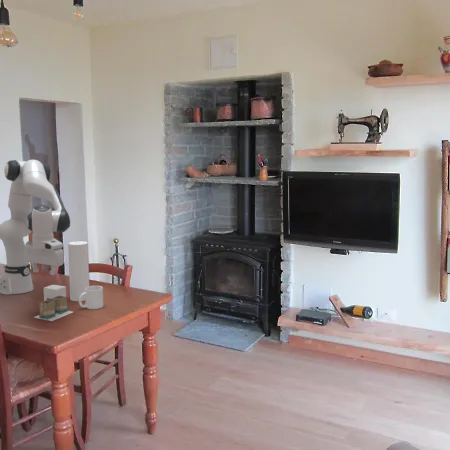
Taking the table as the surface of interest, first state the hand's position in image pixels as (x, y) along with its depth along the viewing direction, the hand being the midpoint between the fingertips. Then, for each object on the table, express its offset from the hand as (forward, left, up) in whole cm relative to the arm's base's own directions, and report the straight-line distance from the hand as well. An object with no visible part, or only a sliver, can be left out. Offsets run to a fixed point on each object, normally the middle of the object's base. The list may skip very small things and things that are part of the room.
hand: (44, 273), depth 230 cm
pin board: (+1, +4, -21) cm, 21 cm away
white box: (-11, +18, -21) cm, 30 cm away
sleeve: (+1, 0, -20) cm, 20 cm away
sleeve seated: (+1, +8, -20) cm, 21 cm away
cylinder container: (-5, +29, -21) cm, 36 cm away
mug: (+9, +20, -21) cm, 30 cm away
